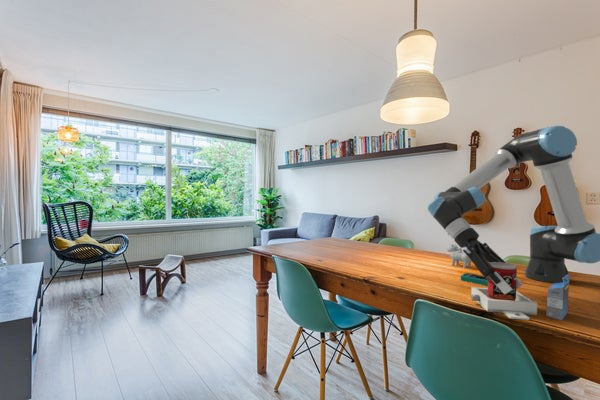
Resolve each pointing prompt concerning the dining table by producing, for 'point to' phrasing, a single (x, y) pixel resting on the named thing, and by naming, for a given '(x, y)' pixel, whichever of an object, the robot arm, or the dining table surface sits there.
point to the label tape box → (558, 299)
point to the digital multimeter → (475, 278)
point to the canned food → (508, 275)
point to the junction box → (505, 304)
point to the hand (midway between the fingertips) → (514, 289)
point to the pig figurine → (458, 256)
